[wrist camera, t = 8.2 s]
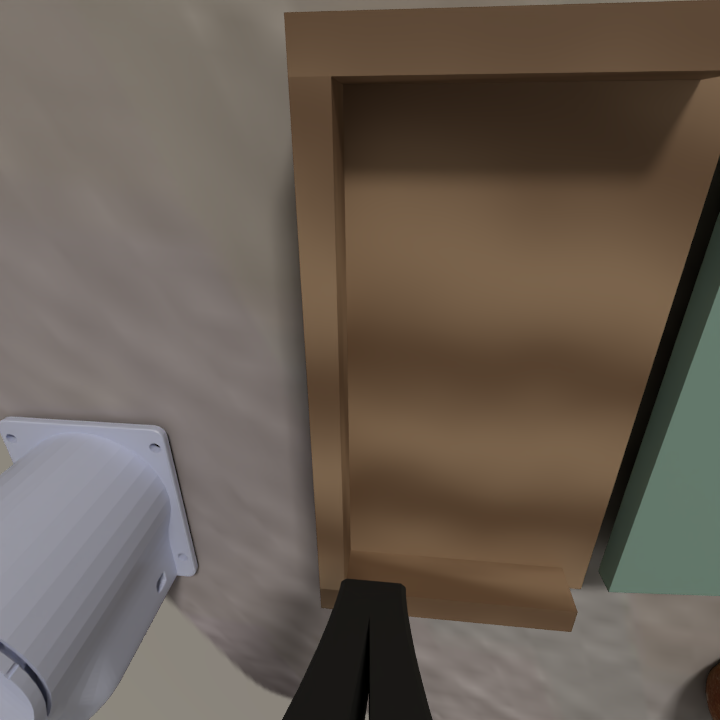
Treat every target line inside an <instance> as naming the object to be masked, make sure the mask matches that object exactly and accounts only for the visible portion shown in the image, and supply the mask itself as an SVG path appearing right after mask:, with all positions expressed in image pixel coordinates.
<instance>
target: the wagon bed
mask: <svg viewBox="0 0 720 720" xmlns="http://www.w3.org/2000/svg"><path fill="white" fill-rule="evenodd" d="M284 19H285V35H286V51H287V67H288V83H289V99H290V115H291V131H292V147H293V163H294V179H295V195H296V211H297V227H298V243H299V259H300V275H301V291H302V307H303V323H304V339H305V355H306V371H307V387H308V403H309V419H310V435H311V451H312V467H313V483H314V499H315V515H316V531H317V547H318V563H319V579H320V595H321V608H328V609H333V607H334V604H335V601H336V599H337V595H338V592H339V588H340V585H341V581H343V580H345V579H346V578H347V579H358V580H369V581H380V582H391V583H401V584H402V585H404V586H405V587H406V600H407V609H408V616H411V617H421V618H432V619H442V620H452V621H463V622H473V623H483V624H494V625H504V626H514V627H525V628H535V629H545V630H556V631H566V632H571V631H572V628H573V625H574V622H575V619H576V616H577V613H578V612H577V609H576V606H575V603H574V601H573V598H572V595H571V592H570V589H569V588H574V589H581V587H582V584H583V580H584V577H585V574H586V571H587V568H588V565H589V562H590V559H591V556H592V552H593V549H594V546H595V543H596V540H597V537H598V534H599V531H600V527H601V524H602V521H603V518H604V515H605V512H606V509H607V506H608V502H609V499H610V496H611V493H612V490H613V487H614V484H615V481H616V477H617V474H618V471H619V468H620V465H621V462H622V459H623V456H624V452H625V449H626V446H627V443H628V440H629V437H630V434H631V431H632V427H633V424H634V421H635V418H636V415H637V412H638V409H639V406H640V403H641V399H642V396H643V393H644V390H645V387H646V384H647V381H648V378H649V374H650V371H651V368H652V365H653V362H654V359H655V356H656V353H657V349H658V346H659V343H660V340H661V337H662V334H663V331H664V328H665V324H666V321H667V318H668V315H669V312H670V309H671V306H672V303H673V299H674V296H675V293H676V290H677V287H678V284H679V281H680V278H681V274H682V271H683V268H684V265H685V262H686V259H687V256H688V253H689V250H690V246H691V243H692V240H693V237H694V234H695V231H696V228H697V225H698V221H699V218H700V215H701V212H702V209H703V206H704V203H705V200H706V196H707V193H708V190H709V187H710V184H711V181H712V178H713V175H714V171H715V168H716V165H717V162H718V159H719V156H720V0H700V1H665V2H631V3H596V4H562V5H527V6H493V7H459V8H424V9H390V10H355V11H321V12H286V13H284Z"/></svg>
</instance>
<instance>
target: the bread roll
mask: <svg viewBox="0 0 720 720" xmlns="http://www.w3.org/2000/svg"><path fill="white" fill-rule="evenodd" d="M706 697H707V703H708V708H709V711H710V713H711V716H712V718H713V720H720V663H719V664H718V665H716V666H715V667H713V669H712V670H711V671H710V673H709V675H708V677H707V682H706Z"/></svg>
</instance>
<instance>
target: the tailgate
mask: <svg viewBox="0 0 720 720" xmlns="http://www.w3.org/2000/svg"><path fill="white" fill-rule="evenodd" d="M599 573H600V575H601V577H602V580H603V582H604V584H605V586H606V588H607V590H608V592H624V593H652V594H680V595H708V596H720V212H719V215H718V218H717V221H716V224H715V227H714V230H713V233H712V236H711V239H710V242H709V245H708V247H707V250H706V253H705V256H704V259H703V262H702V265H701V268H700V271H699V274H698V277H697V280H696V283H695V286H694V289H693V292H692V295H691V298H690V301H689V304H688V307H687V310H686V313H685V316H684V319H683V322H682V325H681V328H680V331H679V333H678V336H677V339H676V342H675V345H674V348H673V351H672V354H671V357H670V360H669V363H668V366H667V369H666V372H665V375H664V378H663V381H662V384H661V387H660V390H659V393H658V396H657V399H656V402H655V405H654V408H653V411H652V414H651V417H650V419H649V422H648V425H647V428H646V431H645V434H644V437H643V440H642V443H641V446H640V449H639V452H638V455H637V458H636V461H635V464H634V467H633V470H632V473H631V476H630V479H629V482H628V485H627V488H626V491H625V494H624V497H623V500H622V503H621V505H620V508H619V511H618V514H617V517H616V520H615V523H614V526H613V529H612V532H611V535H610V538H609V541H608V544H607V547H606V550H605V553H604V556H603V559H602V562H601V565H600V568H599Z"/></svg>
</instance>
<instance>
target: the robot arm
mask: <svg viewBox="0 0 720 720" xmlns="http://www.w3.org/2000/svg"><path fill="white" fill-rule="evenodd" d="M0 433H1V436H2V438H3V440H4V442H5V444H6V447H7V449H8V452H9V454H10V456H11V458H12V461H13V463H14V464H13V465H12V466H11V467H9V468H8V469H7V470H6V471H5V472H3V473H2V474H1V475H0V720H89V719H90V718H91V717H92V716H93V715H94V714H95V713H96V712H97V711H98V710H99V709H100V708H101V707H102V706H103V705H104V704H105V702H106V701H107V700H108V699H109V697H110V696H111V695H112V693H113V692H114V690H115V689H116V687H117V686H118V684H119V682H120V681H121V679H122V677H123V675H124V673H125V671H126V670H127V668H128V666H129V664H130V662H131V660H132V658H133V657H134V655H135V653H136V651H137V649H138V647H139V645H140V643H141V642H142V640H143V637H144V636H145V634H146V632H147V630H148V628H149V627H150V625H151V623H152V621H153V619H154V617H155V615H156V614H157V612H158V610H159V608H160V606H161V604H162V602H163V600H164V599H165V597H166V595H167V593H168V591H169V589H170V587H171V586H172V584H173V582H174V580H175V578H176V576H177V575H179V576H192V575H194V574H195V573H196V571H197V569H198V564H197V560H196V556H195V552H194V547H193V543H192V539H191V535H190V530H189V526H188V522H187V517H186V513H185V509H184V505H183V500H182V496H181V492H180V488H179V483H178V479H177V475H176V470H175V466H174V462H173V458H172V453H171V449H170V445H169V441H168V436H167V434H166V431H165V430H164V429H163V428H161V427H159V426H156V425H142V424H126V423H109V422H93V421H76V420H59V419H43V418H26V417H6V418H4V419H3V420H1V421H0ZM154 443H155V444H157V445H159V446H160V447H157V446H156V445H155V444H154ZM368 694H369V720H432V716H431V713H430V709H429V706H428V702H427V698H426V694H425V691H424V687H423V683H422V679H421V675H420V672H419V667H418V663H417V659H416V654H415V650H414V645H413V640H412V635H411V629H410V623H409V617H408V609H407V600H406V587H405V586H404V585H402V584H401V583H391V582H380V581H369V580H358V579H347V578H346V579H345V580H343V581H341V585H340V588H339V592H338V595H337V599H336V601H335V604H334V607H333V610H332V613H331V616H330V618H329V621H328V623H327V626H326V628H325V631H324V633H323V636H322V638H321V640H320V643H319V645H318V647H317V650H316V652H315V654H314V656H313V658H312V660H311V663H310V665H309V667H308V669H307V671H306V673H305V676H304V678H303V680H302V682H301V684H300V686H299V688H298V690H297V692H296V694H295V696H294V698H293V700H292V702H291V704H290V706H289V707H288V709H287V711H286V713H285V715H284V717H283V719H282V720H365V714H366V708H367V701H368Z"/></svg>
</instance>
